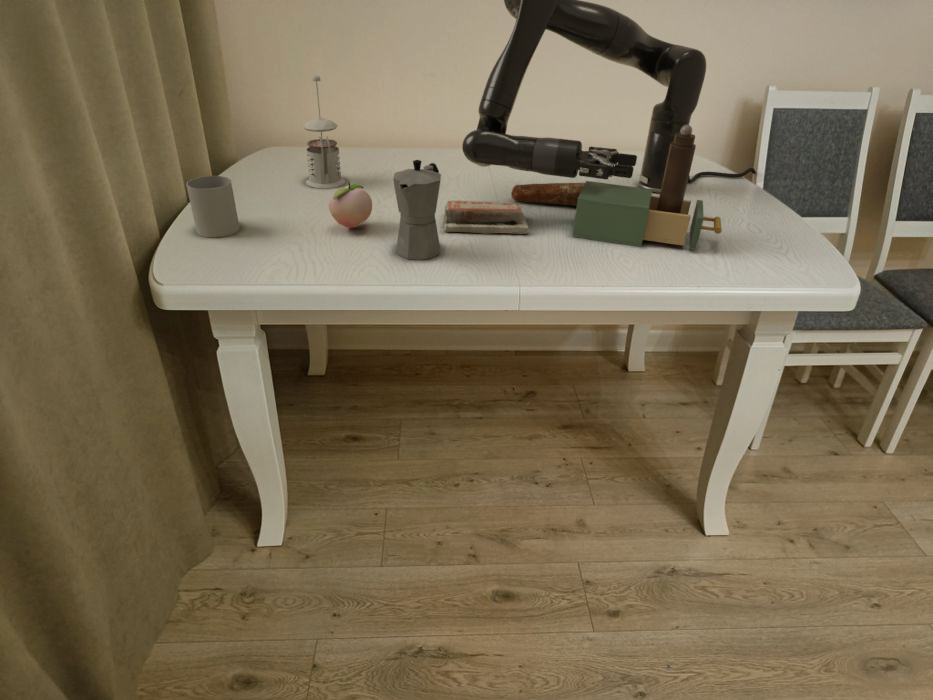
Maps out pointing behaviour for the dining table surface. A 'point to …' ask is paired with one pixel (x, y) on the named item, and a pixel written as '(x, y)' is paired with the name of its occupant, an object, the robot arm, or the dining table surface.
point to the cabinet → (612, 213)
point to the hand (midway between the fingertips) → (634, 166)
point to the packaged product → (484, 217)
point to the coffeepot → (417, 211)
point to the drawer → (677, 224)
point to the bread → (548, 193)
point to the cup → (213, 206)
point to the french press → (323, 154)
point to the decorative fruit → (350, 205)
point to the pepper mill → (677, 171)
